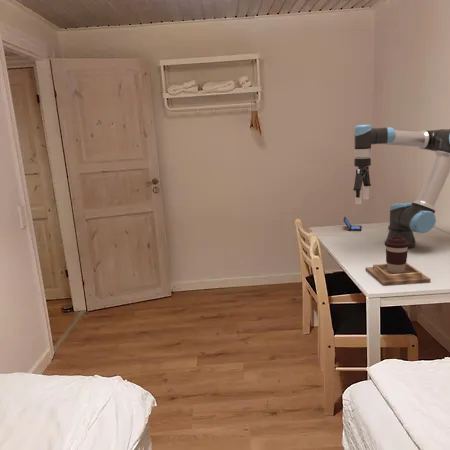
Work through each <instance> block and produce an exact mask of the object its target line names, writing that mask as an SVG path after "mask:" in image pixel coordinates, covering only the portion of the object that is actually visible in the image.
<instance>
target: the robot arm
mask: <svg viewBox="0 0 450 450" xmlns="http://www.w3.org/2000/svg"><path fill="white" fill-rule="evenodd" d="M353 135H354V150H353V154H354V163H353V164H354V165H353V166H354V167H357V168H356V169H355V177H354V178H355V179H354V185H353V186H354V187H353V189H352V190H353V191H355V194H354V196H355V197H354V199H355V200H354V204H355V205H362V200H369V199H370V187H371V186H372V184H371V178H370V171H369V170H370V166H371V165H372V162H371V161H372V159H371V157H372V145H389V146H390V145H391V146H403V147H417V148H418V149H421V150H427V151H433V152H434V153H435V155H436V157H435V159H434V161H433V164H432V165H431V168H430V170H429V172H428V175H427V177H426V179H425V181H424V183H423V185H422V188H421V190H420V192H419V195H418V197H417V199H416V200H415V201H412V202H400V203H399V202H398V203H397V202H396V203H393V204H390V206H389V225H390V230H389V229H388V230H389V231H388V234H387V236H386V239H385V241H386V240H388V239H389V238H390V237H403V238H405V239H406V241H408V242H409V247H408V248H407V249H412V248H415V247H416V246H417V245H416V244H417V241H416V238H415V234H414V233H419V234H424V233H425V234H426V233H428V232H429V231H431V230H432V229H433V228H434V227H435V225H436V222H437V219H436V215H435V213H436V209H435V205H436V203H437V200H438V199H439V196H440V194H441V193H442V190H443V187H444V185H445V183H446V180H447V179H448V176H449V174H450V128H449V129H448V128H444V129H433V130H432V129H431V130H427V129H426V130H425V129H423V130H421V131H409V130H399V129H398V130H397V129H395V128H393V127H390V126H388V127H387V126H386V127H372V125H371V124H357V125H356V126H355V127H354V134H353ZM362 185H363V186H362Z"/></svg>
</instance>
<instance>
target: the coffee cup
mask: <svg viewBox="0 0 450 450" xmlns="http://www.w3.org/2000/svg"><path fill="white" fill-rule="evenodd" d="M384 246H385V257H386V258H385V259H386V260H385V262H386V264H387V270H388V272H390V273H396V274H400V273H404V272H405V266H406V263H407V260H408V252H409V251H408V249H409V248H408V247H409V242H408V241H406V239H405V238H403V237H390V238H389V239H388V240H386V239H385V241H384Z"/></svg>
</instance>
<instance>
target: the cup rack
mask: <svg viewBox="0 0 450 450" xmlns="http://www.w3.org/2000/svg"><path fill="white" fill-rule="evenodd" d="M365 272H366V273H368V275H370V276H371V277H372V278H374V279H375V280H376V281H377V282H378V283H379V284H380V285H382V286H383V287H386V286H388V287H389V286H397V285H399V286H400V285H412V284H428V283H431V282H432V281H431V279H432V278H430V277H429V276H427V275H425V274H423V273H422V272H421V271H420V270H419V269H417V268H415V267H414V266H413V265H411V264H409V263H407V262H406V266H405V272H404V273H400V274H396V273H390V272H388V270H387V263H378V264H376V263H375V264H372V266H369V267H365Z"/></svg>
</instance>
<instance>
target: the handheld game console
mask: <svg viewBox="0 0 450 450" xmlns="http://www.w3.org/2000/svg"><path fill="white" fill-rule="evenodd" d="M343 223H344V224H345V226H346V227H347V229H348V232H361V231H362V227H363V226H362V225H355V224H354V225H352V224H351V223H350V221H349V220H348V218H347V216H344V217H343Z"/></svg>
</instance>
